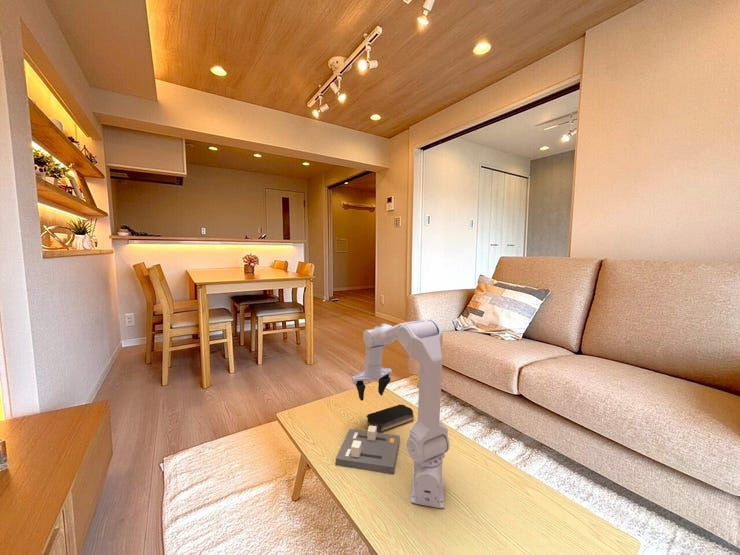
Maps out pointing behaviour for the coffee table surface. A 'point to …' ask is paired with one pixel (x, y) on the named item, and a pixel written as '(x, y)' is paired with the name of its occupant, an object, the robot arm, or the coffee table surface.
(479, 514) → the coffee table surface
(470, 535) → the coffee table surface
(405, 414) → the black sponge
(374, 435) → the block
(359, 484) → the coffee table surface
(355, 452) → the block
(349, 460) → the grey flat block
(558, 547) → the coffee table surface
